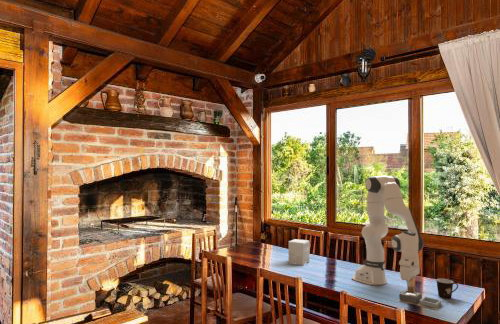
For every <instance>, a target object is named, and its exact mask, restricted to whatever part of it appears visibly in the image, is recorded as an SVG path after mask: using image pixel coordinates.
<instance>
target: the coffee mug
mask: <svg viewBox="0 0 500 324" xmlns="http://www.w3.org/2000/svg"><path fill="white" fill-rule="evenodd" d="M435 281H436V286H437V287H436V288H437V294H438V295H437V296H438V297H439V298H441V299H446V300H451V299H452V298H453V297H452V296H453V295H452V294H453V293H454V292H456V291H457V289H458V288H459V285H458V283H456V282H454V281H453V280H451V279H448V278H437V279H435ZM455 284H456V287H455V289H453V287H454V285H455Z"/></svg>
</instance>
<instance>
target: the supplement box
mask: <svg viewBox="0 0 500 324" xmlns="http://www.w3.org/2000/svg"><path fill="white" fill-rule="evenodd" d="M307 262H309V263H310V240H307V239H298V238H297V239H296V238H294V239H292V240H288V264H290V263H296V264H295V265H297V264H303V265H302V266H305V265H306V264H305V263H307ZM304 264H305V265H304ZM307 264H308V263H307Z"/></svg>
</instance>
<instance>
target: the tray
mask: <svg viewBox="0 0 500 324" xmlns="http://www.w3.org/2000/svg"><path fill="white" fill-rule="evenodd" d="M419 301H420V305H422V306H426V307H430V308H434V309H433V310H435V309H437V308H438V309H439V308H440V307H441V306H442V305H441V304H442V299H437V298H434V297H429V296H423V297H422V299H421V300H419ZM422 306H421V307H422ZM426 307H425V308H426ZM430 308H429V309H430ZM438 309H437V310H438Z"/></svg>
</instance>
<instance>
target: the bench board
mask: <svg viewBox="0 0 500 324" xmlns="http://www.w3.org/2000/svg"><path fill="white" fill-rule="evenodd" d="M397 301H398V302H402V303H406V304H410V305H411V304H412V305H414V306H418V307H424V308H427V309H432V310H435V311H437V310H438V309H439V308H437V309H434V308H430V307H426V306H422V305H420V302H418V303H417V304H413V303H409V302H405V301H401V300H399V299H398V300H397ZM441 306H443V303H441Z"/></svg>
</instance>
